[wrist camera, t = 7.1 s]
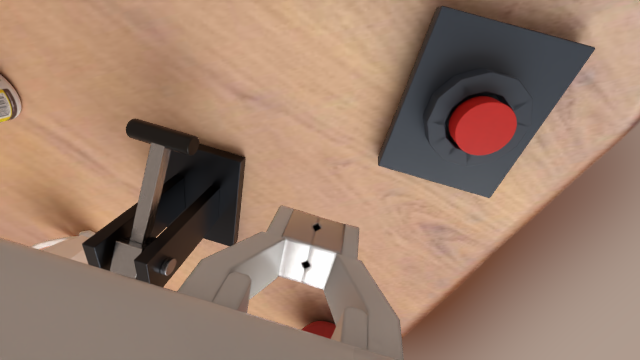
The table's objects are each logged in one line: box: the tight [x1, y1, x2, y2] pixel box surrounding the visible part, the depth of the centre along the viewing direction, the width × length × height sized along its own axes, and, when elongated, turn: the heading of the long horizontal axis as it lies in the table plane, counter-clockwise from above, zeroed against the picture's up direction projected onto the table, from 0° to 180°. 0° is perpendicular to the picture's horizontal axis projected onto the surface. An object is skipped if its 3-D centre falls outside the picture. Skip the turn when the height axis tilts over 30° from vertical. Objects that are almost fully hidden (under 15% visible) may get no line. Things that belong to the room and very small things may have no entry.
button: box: [449, 96, 517, 155], centre depth 18 cm, size 4×4×2 cm
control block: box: [378, 6, 595, 198], centre depth 20 cm, size 12×10×4 cm
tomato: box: [302, 321, 336, 339], centre depth 36 cm, size 8×8×8 cm
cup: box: [30, 230, 96, 264], centre depth 35 cm, size 7×10×8 cm
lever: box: [110, 119, 199, 280], centre depth 21 cm, size 12×5×2 cm, turn 166°
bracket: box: [82, 144, 245, 287], centre depth 25 cm, size 12×9×12 cm
